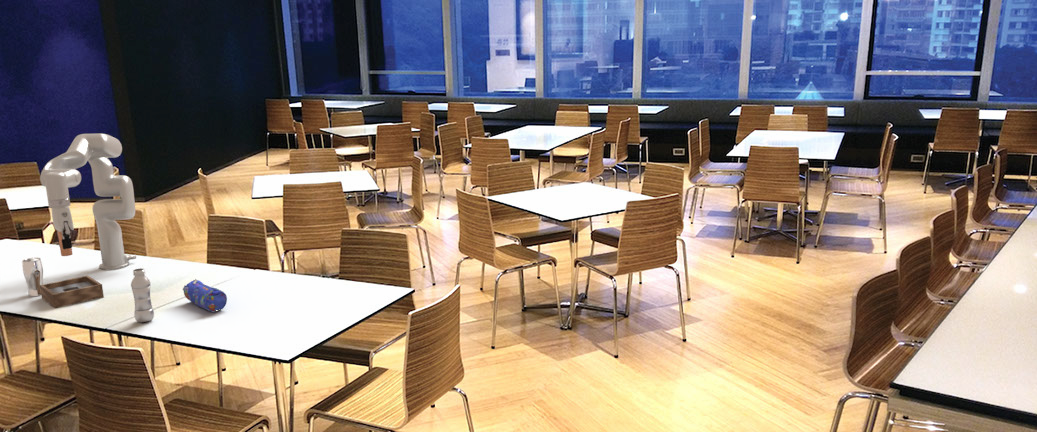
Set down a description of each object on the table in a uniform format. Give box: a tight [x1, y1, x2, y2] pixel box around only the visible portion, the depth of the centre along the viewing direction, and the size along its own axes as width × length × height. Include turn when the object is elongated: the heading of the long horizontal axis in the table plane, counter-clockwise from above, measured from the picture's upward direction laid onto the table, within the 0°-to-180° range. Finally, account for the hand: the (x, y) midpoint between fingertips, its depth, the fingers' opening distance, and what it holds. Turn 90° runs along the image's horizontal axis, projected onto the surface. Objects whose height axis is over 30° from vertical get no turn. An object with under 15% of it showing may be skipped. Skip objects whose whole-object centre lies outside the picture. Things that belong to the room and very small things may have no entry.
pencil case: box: [182, 278, 228, 313], centre depth 306 cm, size 22×9×10 cm, turn 46°
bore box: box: [40, 275, 105, 309], centre depth 319 cm, size 18×18×6 cm
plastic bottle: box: [130, 268, 155, 323], centre depth 290 cm, size 6×7×20 cm
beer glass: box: [21, 257, 44, 298], centre depth 323 cm, size 7×7×15 cm
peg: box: [56, 230, 73, 257], centre depth 315 cm, size 4×4×12 cm
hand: (65, 247), depth 315 cm, fingers closed on peg, 4 cm apart
